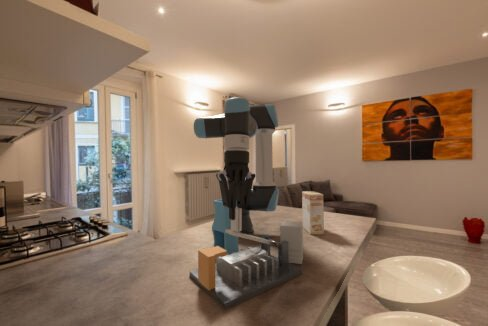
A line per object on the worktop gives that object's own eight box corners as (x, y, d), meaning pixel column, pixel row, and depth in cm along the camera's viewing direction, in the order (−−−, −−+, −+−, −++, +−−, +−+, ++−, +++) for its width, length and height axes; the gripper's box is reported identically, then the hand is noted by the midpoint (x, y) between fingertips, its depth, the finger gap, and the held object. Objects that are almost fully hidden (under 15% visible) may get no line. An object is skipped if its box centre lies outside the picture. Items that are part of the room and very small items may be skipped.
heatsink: (189, 276, 66) (189, 247, 67) (259, 253, 83) (259, 231, 84) (225, 310, 51) (224, 272, 51) (302, 273, 67) (301, 245, 68)
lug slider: (198, 280, 61) (198, 250, 61) (217, 274, 64) (216, 245, 64) (208, 290, 56) (208, 257, 56) (228, 282, 59) (228, 251, 60)
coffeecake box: (324, 234, 106) (324, 194, 106) (309, 234, 106) (309, 194, 107) (315, 226, 121) (314, 191, 121) (302, 226, 121) (301, 191, 122)
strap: (222, 232, 66) (224, 227, 66) (268, 243, 77) (270, 239, 77) (234, 237, 61) (236, 231, 61) (281, 248, 72) (282, 243, 73)
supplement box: (303, 256, 81) (303, 221, 81) (302, 264, 74) (301, 227, 74) (283, 253, 83) (283, 220, 83) (280, 262, 76) (279, 225, 76)
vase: (240, 251, 85) (240, 200, 86) (225, 258, 80) (225, 202, 80) (227, 247, 91) (226, 198, 91) (211, 252, 85) (211, 200, 85)
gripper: (224, 148, 59) (223, 237, 58) (262, 151, 67) (261, 229, 66) (210, 150, 65) (209, 231, 64) (246, 152, 73) (246, 224, 72)
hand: (236, 230), depth 65 cm, fingers closed
